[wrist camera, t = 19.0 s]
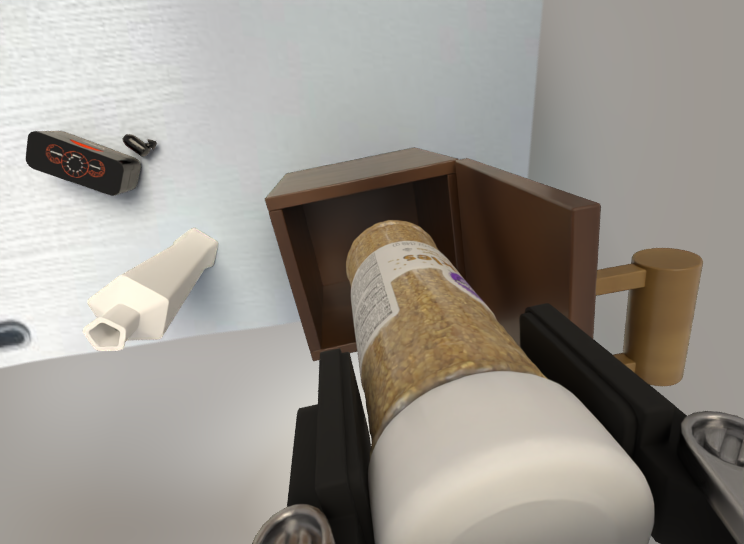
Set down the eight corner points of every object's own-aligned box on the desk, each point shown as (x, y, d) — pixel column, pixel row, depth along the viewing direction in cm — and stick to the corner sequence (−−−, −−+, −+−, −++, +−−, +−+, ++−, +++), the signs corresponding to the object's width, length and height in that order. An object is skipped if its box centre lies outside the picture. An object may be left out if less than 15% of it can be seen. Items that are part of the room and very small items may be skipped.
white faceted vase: (160, 255, 34) (42, 347, 20) (183, 217, 33) (77, 285, 19) (206, 282, 35) (127, 385, 21) (230, 246, 34) (164, 329, 20)
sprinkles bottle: (453, 241, 18) (731, 502, 6) (408, 317, 19) (552, 666, 7) (369, 200, 17) (488, 415, 4) (327, 284, 18) (327, 634, 6)
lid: (564, 501, 14) (716, 476, 14) (572, 208, 10) (795, 166, 10) (470, 330, 26) (553, 315, 26) (454, 160, 21) (554, 140, 21)
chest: (317, 291, 37) (312, 361, 26) (285, 173, 32) (264, 198, 21) (430, 266, 37) (473, 326, 26) (415, 147, 33) (458, 158, 22)
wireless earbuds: (148, 194, 32) (129, 202, 29) (55, 161, 30) (24, 166, 27) (160, 141, 30) (141, 143, 27) (62, 104, 29) (31, 101, 26)
